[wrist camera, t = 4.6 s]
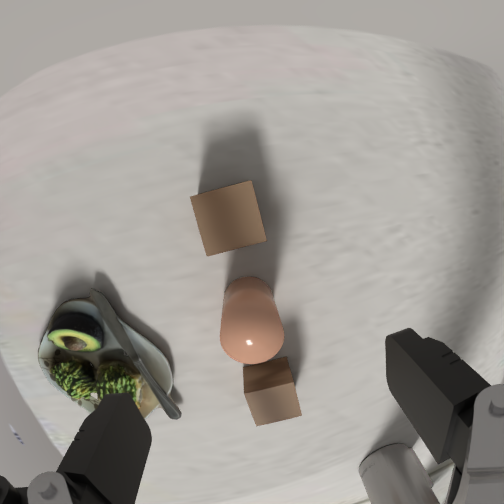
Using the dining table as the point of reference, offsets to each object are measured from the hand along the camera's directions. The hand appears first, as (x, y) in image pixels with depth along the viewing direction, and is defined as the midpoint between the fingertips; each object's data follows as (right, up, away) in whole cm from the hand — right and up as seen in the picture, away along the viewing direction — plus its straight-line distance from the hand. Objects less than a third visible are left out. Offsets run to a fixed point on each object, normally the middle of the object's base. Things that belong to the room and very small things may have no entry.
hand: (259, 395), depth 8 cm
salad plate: (-19, -9, +24) cm, 32 cm away
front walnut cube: (-2, +8, +21) cm, 22 cm away
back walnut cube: (+2, -10, +25) cm, 27 cm away
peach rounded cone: (-1, -1, +23) cm, 23 cm away
